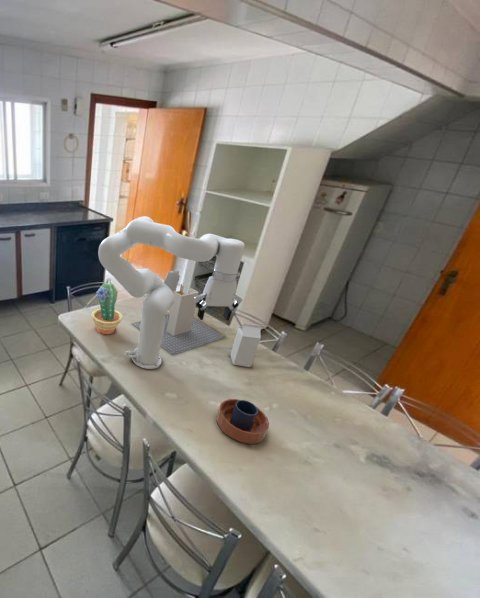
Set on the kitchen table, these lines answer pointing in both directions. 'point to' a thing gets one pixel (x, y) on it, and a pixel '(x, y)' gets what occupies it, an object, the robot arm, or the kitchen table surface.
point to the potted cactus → (106, 309)
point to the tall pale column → (172, 280)
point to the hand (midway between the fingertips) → (212, 318)
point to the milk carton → (245, 344)
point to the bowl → (250, 437)
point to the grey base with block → (184, 325)
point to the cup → (244, 415)
